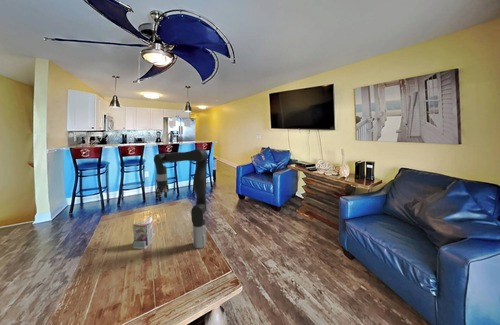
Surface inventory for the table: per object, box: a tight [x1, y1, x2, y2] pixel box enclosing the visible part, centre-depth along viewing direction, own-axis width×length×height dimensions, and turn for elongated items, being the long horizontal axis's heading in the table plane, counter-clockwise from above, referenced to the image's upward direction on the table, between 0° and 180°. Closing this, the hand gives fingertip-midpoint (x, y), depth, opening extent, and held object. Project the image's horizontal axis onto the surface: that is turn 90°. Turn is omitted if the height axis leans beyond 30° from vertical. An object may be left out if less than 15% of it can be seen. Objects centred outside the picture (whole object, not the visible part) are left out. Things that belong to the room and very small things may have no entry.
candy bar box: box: [132, 221, 152, 247], centre depth 144 cm, size 11×5×16 cm, turn 85°
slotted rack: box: [132, 235, 153, 250], centre depth 145 cm, size 9×9×5 cm
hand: (163, 199), depth 148 cm, fingers open, 8 cm apart
